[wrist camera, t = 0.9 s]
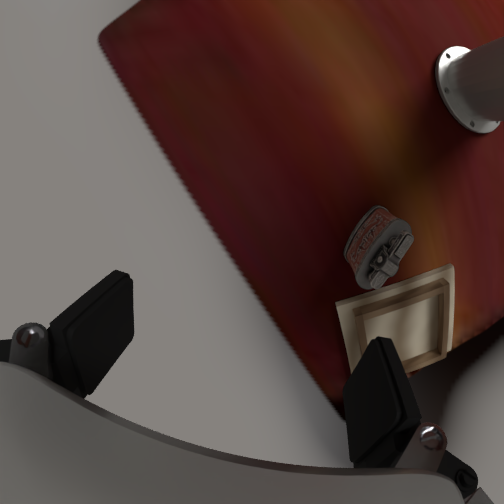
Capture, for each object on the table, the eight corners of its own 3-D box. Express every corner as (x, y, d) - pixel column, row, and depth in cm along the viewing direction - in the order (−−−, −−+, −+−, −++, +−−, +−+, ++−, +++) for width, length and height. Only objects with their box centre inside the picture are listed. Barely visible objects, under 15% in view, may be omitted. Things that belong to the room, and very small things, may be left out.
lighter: (358, 266, 34) (379, 307, 24) (337, 253, 33) (353, 291, 24) (393, 214, 31) (429, 239, 21) (372, 199, 31) (404, 219, 21)
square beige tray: (450, 263, 32) (460, 272, 29) (448, 345, 36) (455, 357, 33) (335, 302, 36) (338, 315, 33) (352, 379, 40) (355, 393, 37)
